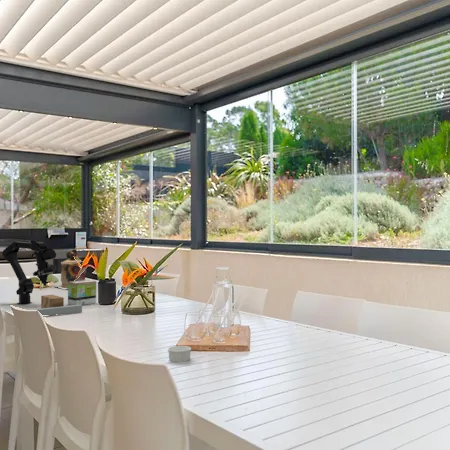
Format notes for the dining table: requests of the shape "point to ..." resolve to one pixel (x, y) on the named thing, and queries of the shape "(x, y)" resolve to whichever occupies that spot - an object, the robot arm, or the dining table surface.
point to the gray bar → (61, 310)
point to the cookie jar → (70, 269)
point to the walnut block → (51, 301)
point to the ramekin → (179, 353)
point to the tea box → (81, 292)
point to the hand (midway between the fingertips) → (45, 285)
